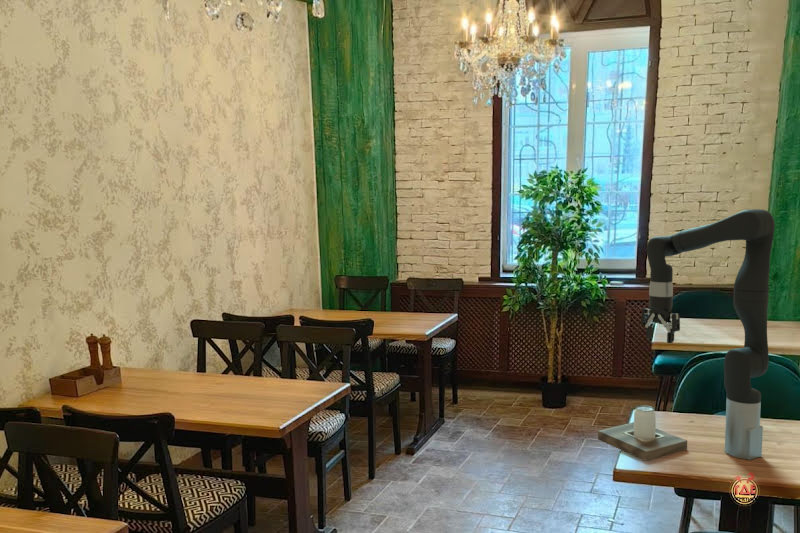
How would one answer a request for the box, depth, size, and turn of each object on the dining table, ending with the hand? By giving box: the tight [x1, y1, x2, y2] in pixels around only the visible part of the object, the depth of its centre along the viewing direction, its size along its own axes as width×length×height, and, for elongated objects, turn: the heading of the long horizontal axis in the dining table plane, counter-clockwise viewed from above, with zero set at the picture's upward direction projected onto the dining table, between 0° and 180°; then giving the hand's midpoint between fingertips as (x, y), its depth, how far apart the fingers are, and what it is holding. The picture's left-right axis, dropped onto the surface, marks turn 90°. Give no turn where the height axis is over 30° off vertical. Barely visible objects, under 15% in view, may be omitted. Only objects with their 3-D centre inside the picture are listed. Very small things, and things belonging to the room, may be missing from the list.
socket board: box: [597, 421, 688, 462], centre depth 201 cm, size 20×18×3 cm
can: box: [633, 404, 657, 440], centre depth 201 cm, size 6×6×12 cm
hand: (659, 340), depth 216 cm, fingers open, 8 cm apart
